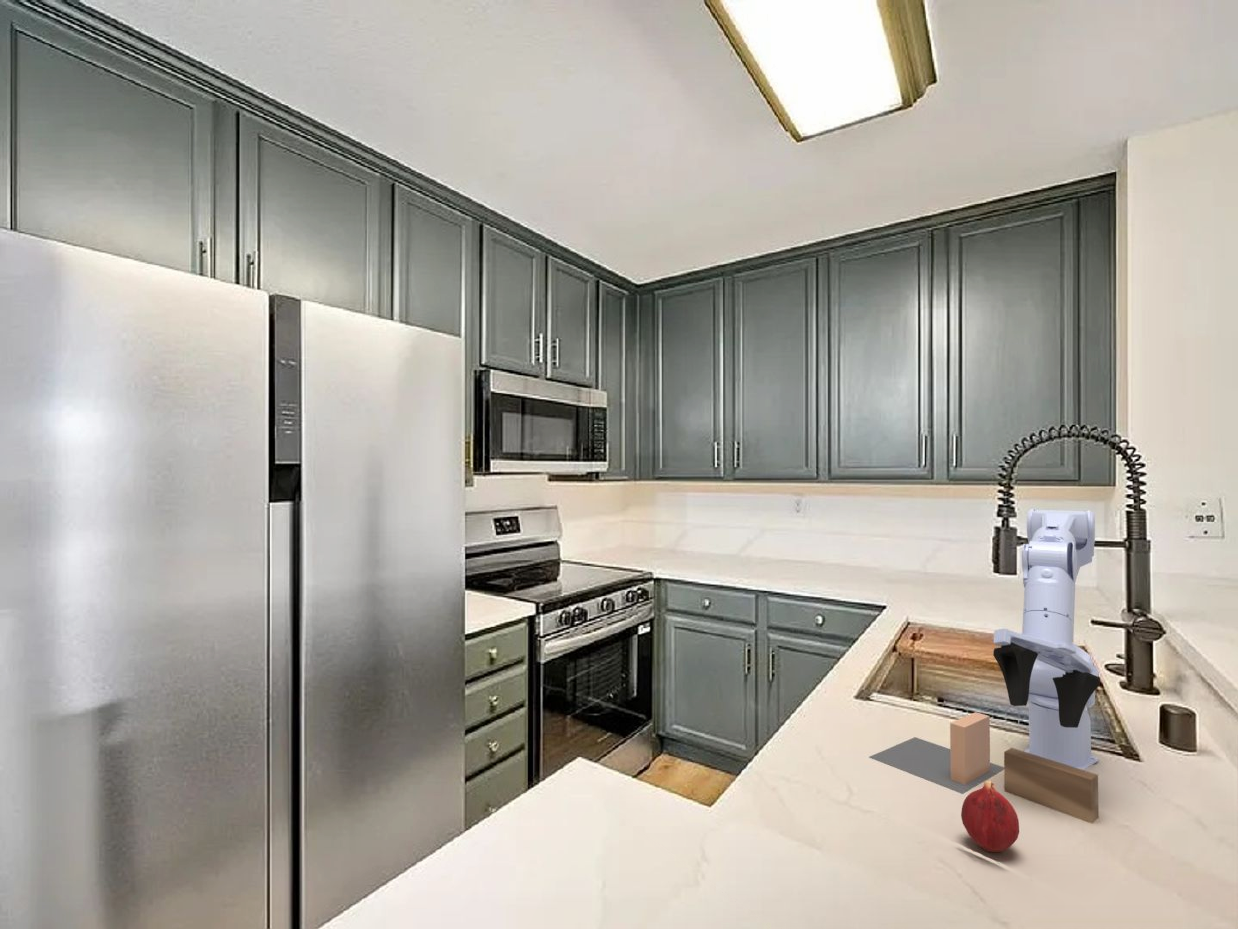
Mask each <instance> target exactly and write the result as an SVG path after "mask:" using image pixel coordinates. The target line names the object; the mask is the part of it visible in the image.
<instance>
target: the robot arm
mask: <svg viewBox="0 0 1238 929" xmlns="http://www.w3.org/2000/svg"><path fill="white" fill-rule="evenodd" d="M1026 514H1027V515H1026V537H1027V541H1028V543H1027V544H1025V543H1023V545H1022V548H1021V570H1022V583H1023V584H1022V585H1023V587H1024V593H1023V608H1022V609H1023V610H1022V612H1023V613H1022V626H1021V628H1022V629H1021V630H1022V631H1021V633H1020V632H1017V631H1013V630H1011V629H1008V628H1005V627H1004V628H999V629H994V631H993V632H994V633H993V644H994V645H997V646H1000V647H995V648H993V657H994V660H996V662H997V664H998V667H999V669H1000V671H1001V673H1002V676H1003V678H1004V682H1005V687H1006V692H1007V696H1008V700H1009V704H1010V706H1013V707H1023V706H1024V707H1025V706H1028V737H1029V738H1028V746H1029V747H1028V748H1026V749H1025V750H1023V751H1024V752H1027V753H1030V754H1034V755H1037V756H1040V757H1043V758H1046V759H1050V760H1053V761H1056V762H1059V763H1062V764H1066V765H1069V766H1072V767H1075V768H1078V769H1081V770H1085V771H1086V769H1087V768H1089V767H1091V765H1095V764H1096V763H1097V762H1098V761H1097V760H1100V759H1099V757H1098V756H1095V755H1092V729H1091V728H1092V725H1091V716H1090V714H1089V712H1088V710H1087V709H1086V708H1091V707H1093V706H1095V704H1096V703H1095V702H1096V690H1097V689H1098V688H1099V687H1100V686H1101V684H1100V683H1101V678H1100V677H1099V668H1098V667H1097V666H1095V665H1094V660H1093V658H1092V656H1091V655H1090V654H1089V653H1088V652H1086V651H1085V650H1084V649H1082V648H1081V647H1079V646H1078V645H1076V644H1075V643H1074V634H1075V633H1074V632H1075V631H1074V628H1075V602H1076V600H1075V597H1076V581H1077V576H1078V574H1079V572H1080V569H1081V567H1083V566H1086V565H1088V564H1091V563H1092V562H1093V557H1094V555H1095V543H1096V525H1095V524H1096V523H1095V522H1096V521H1095V520H1096V519H1095V513H1094V512H1092V510H1090V509H1089V510H1085V511H1084V510H1059V509H1058V510H1055V509H1051V510H1049V509H1048V510H1047V509H1035V508H1031V509H1030V510H1028V512H1027V513H1026Z"/></svg>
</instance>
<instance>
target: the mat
mask: <svg viewBox="0 0 1238 929" xmlns="http://www.w3.org/2000/svg"><path fill="white" fill-rule="evenodd" d="M868 758H870V759H872V760H874V761H877V762H880V763H882V764H885V765H887V766H890V767H892V768H895V769H897V770H900V771H903V772H906V773H908V774H911V775H913V776H916V777H919V778H920V779H922V780H923V779H924V780H926V781H929V782H931V783H933V784H937V785H939V786H941V787H943V788H947V789H949V790H951V791H953V792H956V793H959V794H961V795H963V794H965V793H967V792H968V791H970V790H972V789H974V788H975V787H977V786H979V785H980V784H982V783H984V782H986V781H988V780H989V779H991V778H992V777H995V775H997V774H999V773H1001V772H1002V771H1004V766H1001V765H999V764H995V763H993V762H990V771H988V772H987V773H985V774H983V775H981V776H980V777H978V778H976V779H975V780H973V781H971V782H969V783H968V784H966V785H964V784H961V783H959V782H956V781H954V780H951V766H950V747H949V748H948V747H945V746H942V745H939V744H936V743H934V742H931V741H927V740H924V739H922V738H919V737H915V736H914V737H912V738H910V739H907V740H906V741H902V742H900V743H897V744H896V745H895V744H894V746H891V747H889V748H887V749H884V750H882V751H879V752H876V753H875V754H871V755H870V756H868Z"/></svg>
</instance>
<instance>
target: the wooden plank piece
mask: <svg viewBox="0 0 1238 929" xmlns="http://www.w3.org/2000/svg"><path fill="white" fill-rule="evenodd" d="M1003 760H1004V761H1003V762H1004V764H1003V767H1004V770H1003V771H1004V772H1003V774H1004V775H1003V776H1004V784H1003V785H1004V790H1003V791H1004V792H1005V793H1007V794H1011V795H1013V796H1015V797H1016V796H1017V797H1019V798H1021V799H1024V800H1028V801H1030V802H1033V803H1036V804H1038V805H1041V806H1043V807H1046V808H1049V809H1051V810H1054V811H1057V812H1060V813H1061V814H1062V813H1063V814H1065V815H1067V816H1070V817H1073V818H1077V819H1078V820H1081V821H1084V822H1087V823H1090V824H1093V823H1094V822H1095V821H1096V820H1098V819H1099V815H1100V814H1099V813H1100V812H1099V774H1097V773H1094V772H1091V771H1088V770H1086V769H1085V770H1081V769H1078V768H1075V767H1072V766H1069V765H1066V764H1062V763H1059V762H1056V761H1053V760H1050V759H1046V758H1043V757H1040V756H1037V755H1034V754H1030V753H1027V752H1024V750H1020V749H1018V748H1014V747H1010V748H1009V749H1007V750H1004V752H1003Z"/></svg>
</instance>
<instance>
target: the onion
mask: <svg viewBox="0 0 1238 929" xmlns="http://www.w3.org/2000/svg"><path fill="white" fill-rule="evenodd" d="M983 783H984V784H983V786H982V788H979V789H977V790H973V791H972V792H970V793H969V794H968V795H967V796H966V797H965V798H964V800H963V803H962V806H961V813H960V816H961V817H960V818H961V821H962V825H963V827H964V829H965V830H966V832H967V834H968V835H969V837H970V838H971V839H972V840H973V842H975V843H976V844H977V845H978V847H980V848H982V849H983V850H985V851H987V852H989V853H997V852H1001V851H1005V850H1007V849H1009V848H1010V847H1012V845H1014V844H1015V843H1016V841H1017V840H1018V839H1019V838H1018V837H1019V834H1020V821H1019V820H1020V819H1019V816H1018V813H1017V812H1016V809H1015V808H1014V806H1013V805H1012V804H1011V802H1009V800H1008V799H1007V798H1006V797H1005V796H1004V795H1002V794H1001V793H1000V792H999V791H997V790H996V788H995V784H994V782H993V781H991V780H989V779H987V780H985V781H984V782H983Z"/></svg>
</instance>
